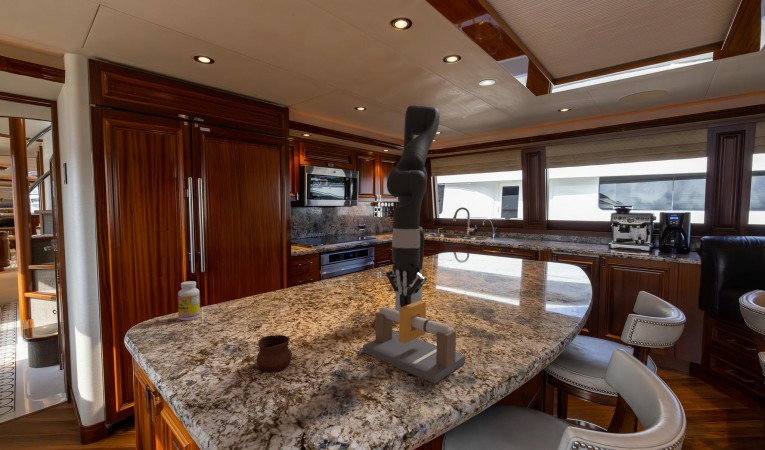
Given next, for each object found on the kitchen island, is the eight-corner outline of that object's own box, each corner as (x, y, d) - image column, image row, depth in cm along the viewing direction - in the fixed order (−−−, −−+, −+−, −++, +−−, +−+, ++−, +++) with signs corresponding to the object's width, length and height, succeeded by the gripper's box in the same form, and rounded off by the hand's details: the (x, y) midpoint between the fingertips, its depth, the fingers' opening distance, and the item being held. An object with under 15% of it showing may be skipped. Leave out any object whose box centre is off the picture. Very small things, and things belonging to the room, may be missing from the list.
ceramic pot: (236, 390, 74) (236, 359, 74) (236, 357, 90) (236, 331, 90) (316, 376, 81) (317, 347, 81) (303, 348, 97) (304, 324, 97)
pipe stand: (362, 352, 93) (363, 311, 92) (395, 337, 103) (395, 300, 103) (434, 384, 77) (435, 335, 76) (465, 363, 87) (466, 319, 86)
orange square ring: (399, 341, 87) (399, 307, 87) (419, 331, 94) (420, 300, 93) (404, 343, 86) (405, 309, 85) (425, 333, 92) (425, 302, 92)
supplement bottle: (174, 319, 118) (173, 283, 117) (191, 313, 124) (190, 279, 123) (187, 322, 115) (186, 285, 115) (204, 316, 122) (203, 281, 121)
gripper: (378, 244, 92) (378, 305, 93) (417, 248, 83) (416, 317, 84) (396, 241, 97) (395, 300, 98) (434, 246, 88) (433, 310, 89)
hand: (405, 307), depth 91 cm, fingers closed
